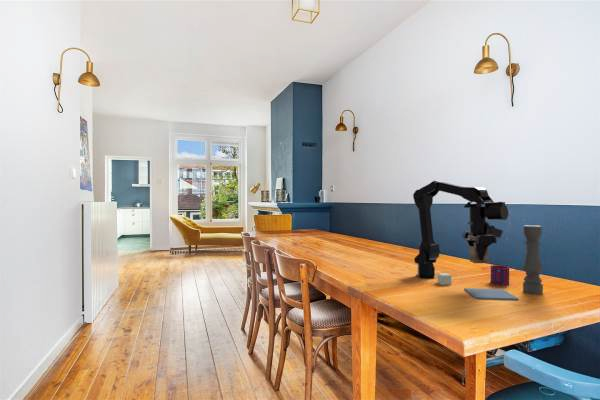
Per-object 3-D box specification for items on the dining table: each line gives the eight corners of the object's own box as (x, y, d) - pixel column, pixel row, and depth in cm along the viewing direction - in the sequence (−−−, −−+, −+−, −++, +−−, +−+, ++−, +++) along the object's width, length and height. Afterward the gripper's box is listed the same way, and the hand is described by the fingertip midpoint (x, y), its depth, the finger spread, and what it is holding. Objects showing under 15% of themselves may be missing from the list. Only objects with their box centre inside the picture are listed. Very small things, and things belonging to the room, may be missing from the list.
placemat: (475, 298, 120) (475, 297, 120) (464, 289, 132) (464, 288, 132) (518, 300, 118) (518, 298, 118) (503, 290, 130) (503, 289, 130)
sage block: (441, 285, 140) (441, 275, 140) (437, 282, 144) (437, 273, 144) (451, 285, 140) (451, 275, 140) (446, 282, 144) (446, 273, 144)
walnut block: (474, 263, 131) (474, 247, 131) (469, 260, 136) (469, 246, 136) (488, 263, 131) (487, 247, 131) (482, 261, 136) (482, 245, 136)
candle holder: (539, 290, 130) (539, 225, 130) (545, 295, 124) (545, 226, 124) (520, 289, 132) (520, 225, 132) (525, 293, 126) (525, 226, 126)
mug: (510, 282, 142) (510, 266, 142) (505, 287, 135) (505, 270, 135) (493, 280, 147) (492, 264, 147) (486, 284, 139) (486, 268, 139)
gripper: (511, 220, 123) (512, 263, 123) (489, 217, 142) (490, 255, 142) (478, 220, 125) (479, 263, 125) (461, 218, 143) (462, 255, 143)
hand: (478, 258), depth 134 cm, fingers closed on walnut block, 5 cm apart
